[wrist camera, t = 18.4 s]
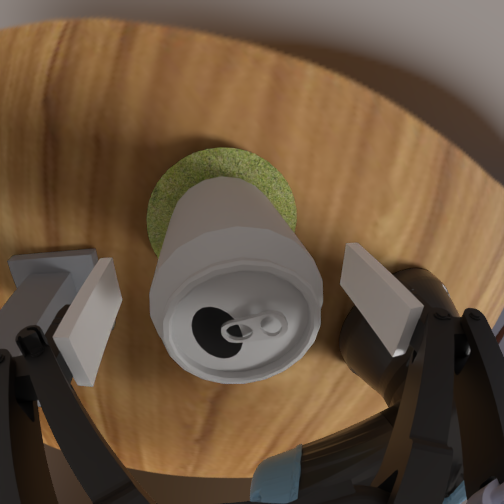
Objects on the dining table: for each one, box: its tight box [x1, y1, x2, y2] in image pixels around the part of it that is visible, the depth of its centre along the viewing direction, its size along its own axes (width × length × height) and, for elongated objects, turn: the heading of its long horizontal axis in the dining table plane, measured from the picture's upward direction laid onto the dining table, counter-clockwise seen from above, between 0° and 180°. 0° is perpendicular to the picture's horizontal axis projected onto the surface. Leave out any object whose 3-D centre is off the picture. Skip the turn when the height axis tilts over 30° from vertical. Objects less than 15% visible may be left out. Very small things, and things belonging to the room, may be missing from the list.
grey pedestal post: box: [0, 248, 116, 407], centre depth 18 cm, size 10×8×12 cm
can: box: [149, 176, 323, 384], centre depth 16 cm, size 8×8×12 cm
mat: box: [147, 147, 297, 259], centre depth 22 cm, size 11×11×2 cm
